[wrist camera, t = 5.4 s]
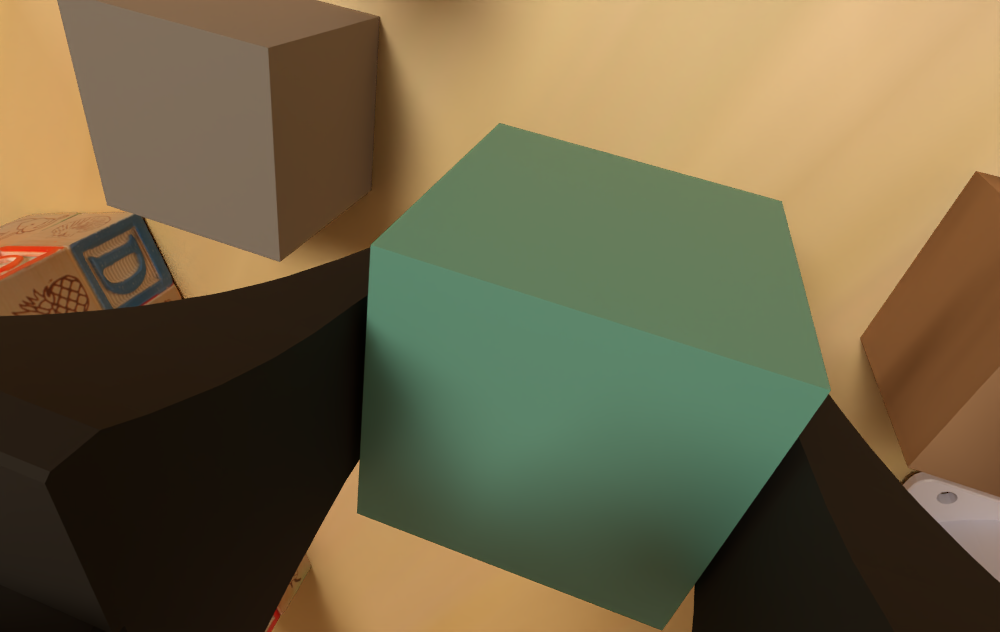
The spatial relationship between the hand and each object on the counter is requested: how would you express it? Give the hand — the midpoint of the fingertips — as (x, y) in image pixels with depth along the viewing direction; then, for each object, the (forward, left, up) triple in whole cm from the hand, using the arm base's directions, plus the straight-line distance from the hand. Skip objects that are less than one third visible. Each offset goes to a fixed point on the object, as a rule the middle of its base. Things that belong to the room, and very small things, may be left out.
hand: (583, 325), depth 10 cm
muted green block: (0, 0, -2) cm, 2 cm away
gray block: (+10, 0, -7) cm, 12 cm away
